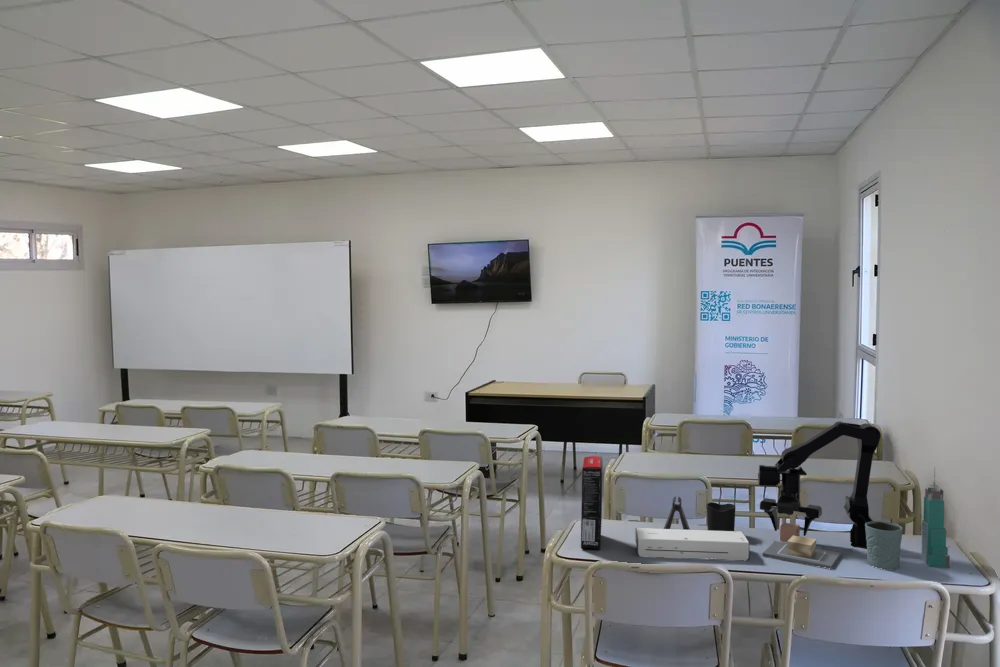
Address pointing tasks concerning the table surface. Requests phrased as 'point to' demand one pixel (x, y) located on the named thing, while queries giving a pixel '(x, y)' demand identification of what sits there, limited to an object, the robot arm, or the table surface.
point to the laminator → (692, 544)
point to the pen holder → (720, 517)
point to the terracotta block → (789, 531)
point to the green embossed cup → (883, 544)
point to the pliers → (679, 508)
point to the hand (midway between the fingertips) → (790, 533)
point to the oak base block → (801, 546)
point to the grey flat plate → (818, 559)
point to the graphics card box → (591, 502)
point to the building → (934, 529)
